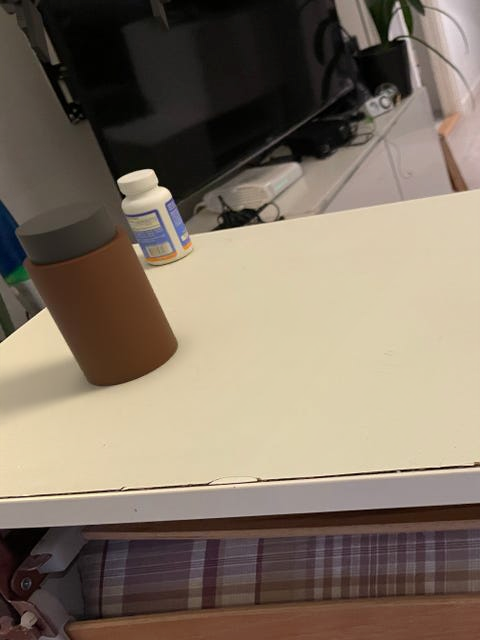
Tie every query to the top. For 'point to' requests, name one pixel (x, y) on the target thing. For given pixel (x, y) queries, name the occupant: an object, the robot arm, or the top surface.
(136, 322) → the brown bottle
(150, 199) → the pill bottle
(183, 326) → the top surface
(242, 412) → the top surface
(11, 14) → the robot arm
